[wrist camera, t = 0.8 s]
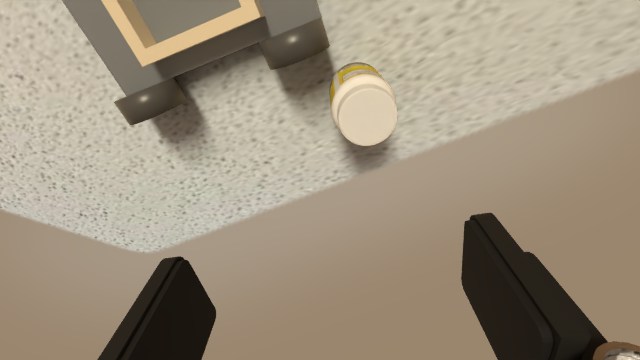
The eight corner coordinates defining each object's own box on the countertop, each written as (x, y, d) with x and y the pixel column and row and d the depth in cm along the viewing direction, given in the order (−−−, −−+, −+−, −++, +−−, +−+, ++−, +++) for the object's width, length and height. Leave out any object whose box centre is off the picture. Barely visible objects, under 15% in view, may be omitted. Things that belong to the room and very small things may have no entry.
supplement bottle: (358, 124, 29) (370, 164, 22) (318, 94, 27) (317, 126, 20) (393, 83, 27) (419, 112, 20) (352, 49, 26) (364, 66, 18)
